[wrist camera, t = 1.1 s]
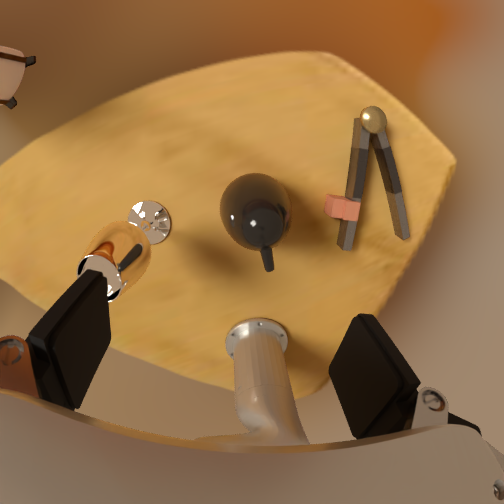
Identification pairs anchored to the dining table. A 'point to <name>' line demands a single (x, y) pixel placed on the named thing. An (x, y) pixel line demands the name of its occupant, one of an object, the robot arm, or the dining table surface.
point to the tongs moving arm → (391, 183)
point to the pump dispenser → (257, 214)
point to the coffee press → (12, 73)
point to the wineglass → (126, 247)
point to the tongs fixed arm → (359, 166)
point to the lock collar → (342, 208)
